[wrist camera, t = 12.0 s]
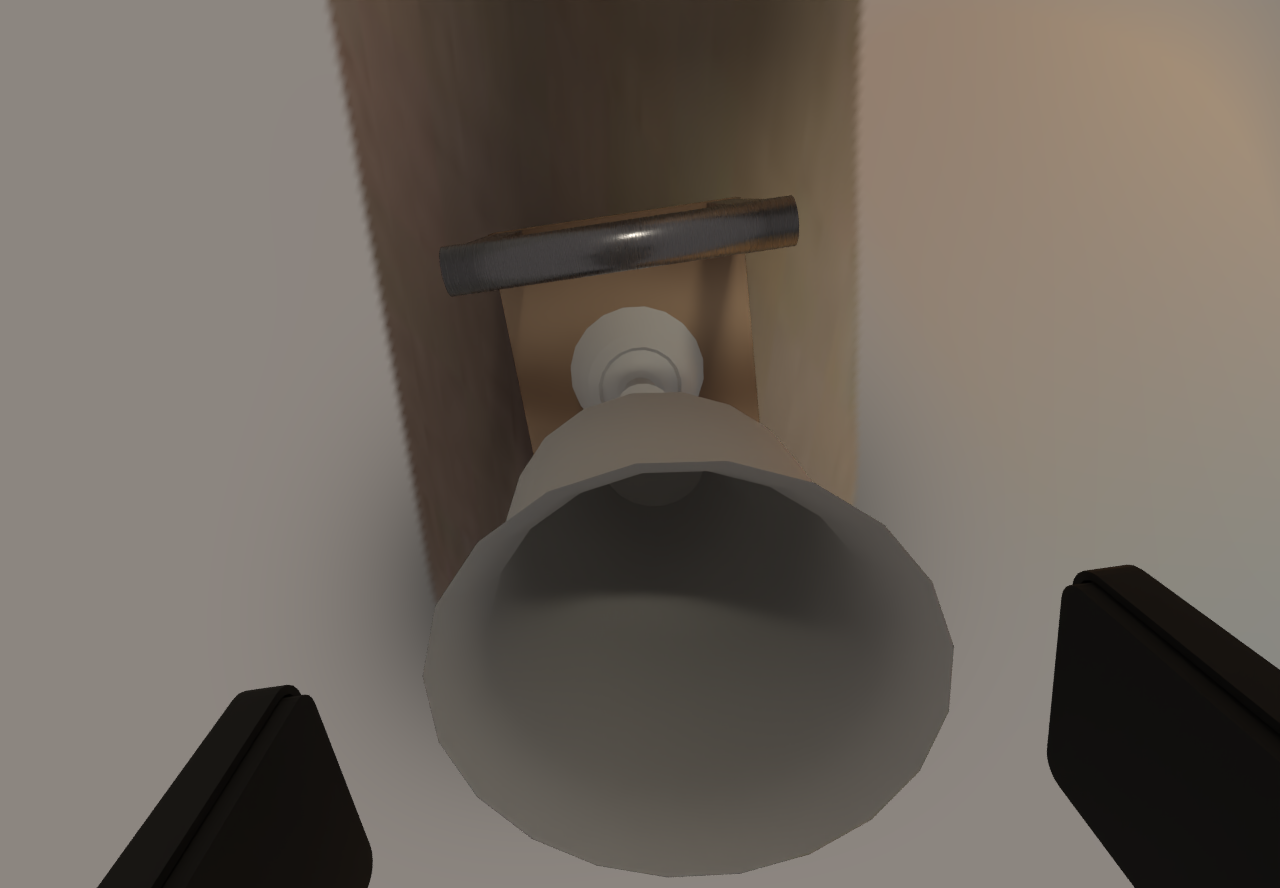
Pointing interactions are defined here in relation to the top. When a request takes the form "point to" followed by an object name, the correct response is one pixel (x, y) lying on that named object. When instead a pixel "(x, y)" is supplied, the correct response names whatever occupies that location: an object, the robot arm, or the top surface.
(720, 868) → the chalice
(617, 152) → the top surface
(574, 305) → the cart
